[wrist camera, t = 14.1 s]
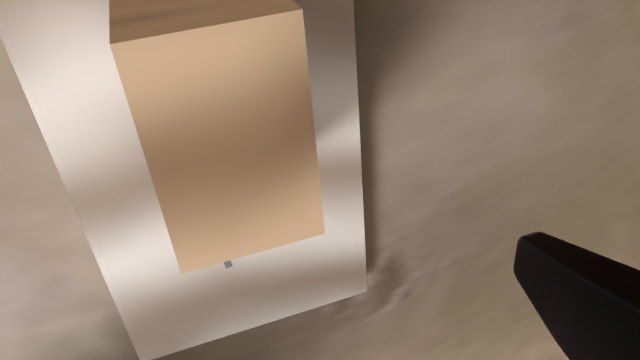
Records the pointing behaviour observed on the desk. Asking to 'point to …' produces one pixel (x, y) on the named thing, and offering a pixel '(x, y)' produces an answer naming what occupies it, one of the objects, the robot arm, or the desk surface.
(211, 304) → the board
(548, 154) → the desk surface
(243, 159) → the block
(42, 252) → the desk surface
